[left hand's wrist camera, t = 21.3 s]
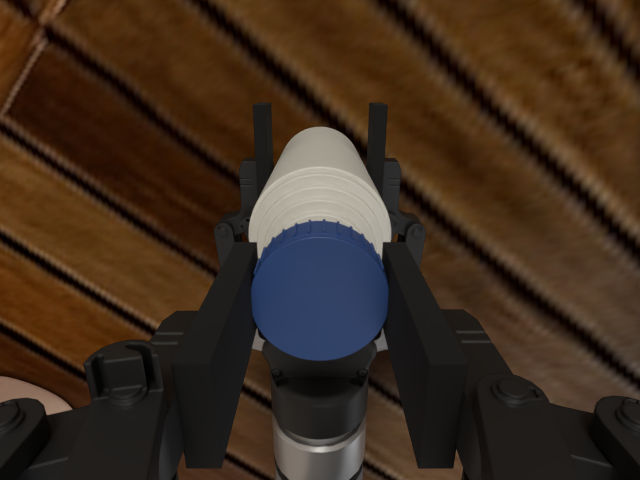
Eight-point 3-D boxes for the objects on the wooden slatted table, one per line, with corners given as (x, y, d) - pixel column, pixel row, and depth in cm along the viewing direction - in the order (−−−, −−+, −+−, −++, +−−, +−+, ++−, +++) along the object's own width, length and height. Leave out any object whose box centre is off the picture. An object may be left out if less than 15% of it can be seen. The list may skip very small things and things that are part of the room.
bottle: (375, 168, 33) (456, 294, 14) (319, 220, 35) (318, 401, 15) (320, 108, 32) (322, 155, 12) (264, 166, 33) (183, 290, 14)
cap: (255, 331, 15) (247, 359, 14) (255, 214, 14) (247, 230, 12) (376, 337, 15) (382, 366, 14) (391, 222, 14) (400, 239, 12)
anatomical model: (-73, 399, 36) (64, 418, 37) (-36, 369, 40) (87, 387, 41) (-53, 507, 41) (68, 522, 42) (-22, 471, 45) (88, 486, 45)
